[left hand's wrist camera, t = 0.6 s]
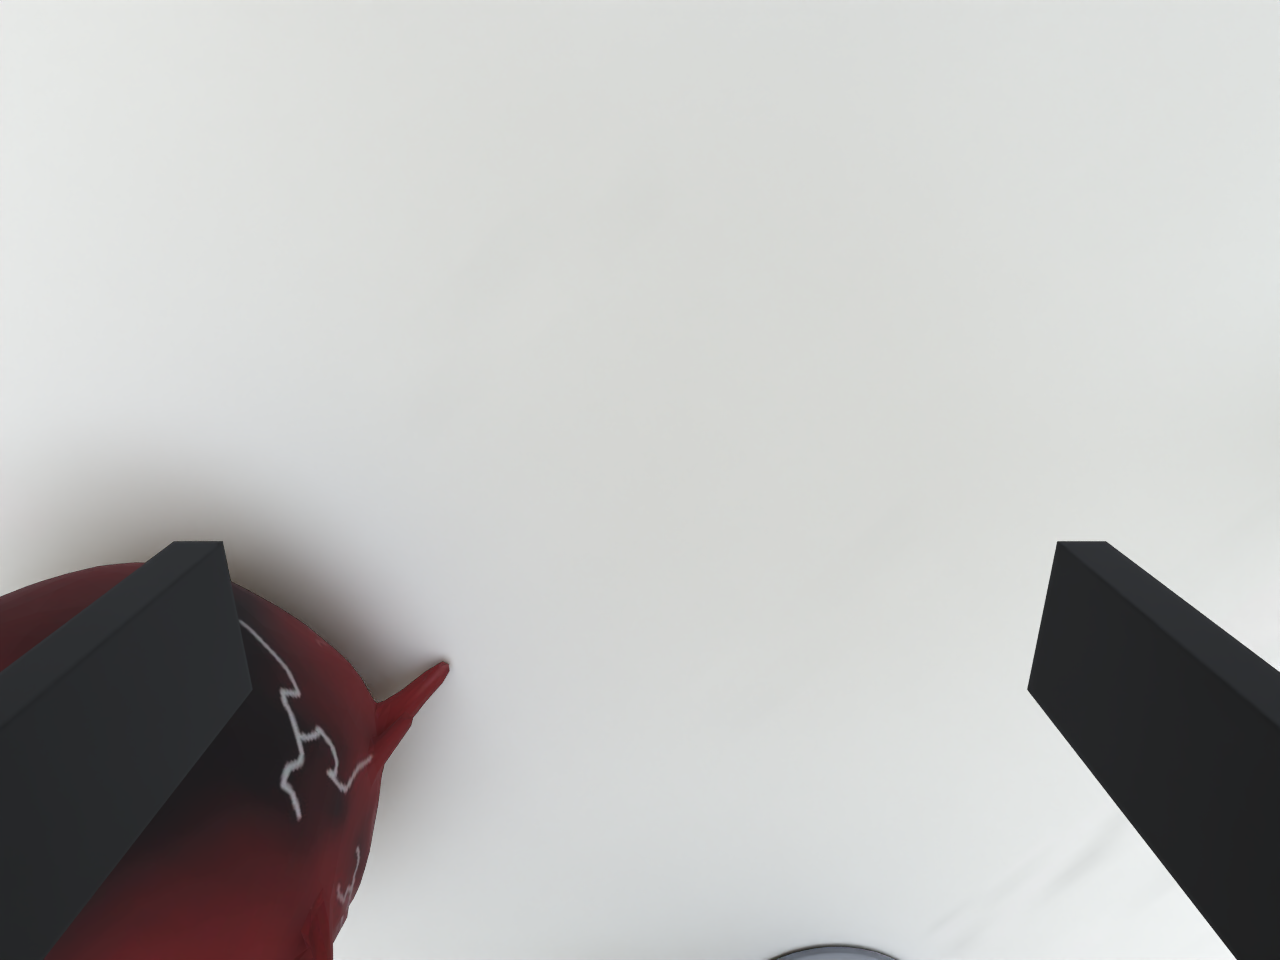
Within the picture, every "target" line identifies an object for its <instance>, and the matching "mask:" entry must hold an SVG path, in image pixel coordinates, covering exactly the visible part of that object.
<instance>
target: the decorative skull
mask: <svg viewBox="0 0 1280 960" xmlns="http://www.w3.org/2000/svg"><path fill="white" fill-rule="evenodd" d="M143 564H145V563H124V564H113V565H105V566H97V567H93V568H89V569H85V570H80V571H76V572H72V573H68V574H64V575H61V576H58V577H54V578H51V579H47V580H44V581H41V582H38V583H35V584H32V585H29V586H26V587H24V588H21V589H19V590H16V591H14V592H11V593H9V594H6V595H4V596H1V597H0V672H1V671H3V670H4V669H5V668H7V667H8V666H9V665H11V664H12V663H13V662H15V661H16V660H17V659H18V658H20V657H21V656H22V655H24V654H25V653H26V652H28V651H29V650H30V649H32V648H33V647H34V646H36V645H37V644H38V643H40V642H41V641H42V640H44V639H45V638H46V637H48V636H49V635H50V634H52V633H53V632H54V631H56V630H57V629H58V628H60V627H61V626H62V625H64V624H65V623H66V622H68V621H69V620H70V619H72V618H73V617H74V616H76V615H77V614H78V613H80V612H81V611H82V610H84V609H85V608H86V607H88V606H89V605H90V604H92V603H93V602H94V601H96V600H97V599H98V598H99V597H101V596H102V595H103V594H105V593H106V592H107V591H109V590H110V589H111V588H113V587H114V586H115V585H117V584H118V583H119V582H121V581H122V580H123V579H125V578H126V577H127V576H129V575H130V574H131V573H133V572H134V571H135V570H137V569H138V568H139V567H141V566H142V565H143ZM231 585H232V590H233V595H234V600H235V605H236V610H237V615H238V620H239V624H240V629H241V634H242V639H243V644H244V649H245V654H246V659H247V664H248V669H249V674H250V679H251V684H252V689H253V690H252V691H251V692H250V694H249V695H248V696H247V698H246V699H245V700H244V701H243V703H242V704H241V705H240V707H239V708H238V709H237V710H236V712H235V713H234V714H233V716H232V717H231V718H230V720H229V721H228V722H227V723H226V725H225V726H224V727H223V729H222V730H221V731H220V732H219V734H218V735H217V736H216V738H215V739H214V740H213V741H212V743H211V744H210V745H209V747H208V748H207V749H206V750H205V752H204V753H203V754H202V756H201V757H200V758H199V759H198V761H197V762H196V763H195V765H194V766H193V767H192V768H191V770H190V771H189V772H188V774H187V775H186V776H185V778H184V779H183V780H182V781H181V783H180V784H179V785H178V787H177V788H176V789H175V790H174V792H173V793H172V794H171V796H170V797H169V798H168V799H167V801H166V802H165V803H164V805H163V806H162V807H161V808H160V810H159V811H158V812H157V814H156V815H155V816H154V817H153V819H152V820H151V821H150V823H149V824H148V825H147V826H146V828H145V829H144V830H143V832H142V833H141V834H140V836H139V837H138V838H137V839H136V841H135V842H134V843H133V845H132V846H131V847H130V848H129V850H128V851H127V852H126V854H125V855H124V856H123V857H122V859H121V860H120V861H119V863H118V864H117V865H116V866H115V868H114V869H113V870H112V872H111V873H110V874H109V875H108V877H107V878H106V879H105V881H104V882H103V883H102V884H101V886H100V887H99V888H98V890H97V891H96V892H95V894H94V895H93V896H92V897H91V899H90V900H89V901H88V903H87V904H86V905H85V906H84V908H83V909H82V910H81V912H80V913H79V914H78V915H77V917H76V918H75V919H74V921H73V922H72V923H71V924H70V926H69V927H68V928H67V930H66V931H65V932H64V933H63V935H62V936H61V937H60V939H59V940H58V941H57V942H56V944H55V945H54V946H53V948H52V949H51V950H50V952H49V953H48V954H47V955H46V957H45V958H44V959H43V960H333V942H334V940H335V939H336V937H337V935H338V933H339V931H340V929H341V928H342V926H343V924H344V922H345V920H346V918H347V914H348V907H349V905H350V903H351V902H352V900H353V899H354V896H355V894H356V892H357V890H358V888H359V885H360V883H361V880H362V876H363V873H364V870H365V866H366V863H367V859H368V855H369V852H370V846H371V841H372V835H373V829H374V824H375V819H376V813H377V808H378V801H379V793H380V785H381V777H382V772H383V768H384V764H385V762H386V761H387V760H388V758H389V757H390V755H391V754H392V752H393V751H394V749H395V748H396V747H397V745H398V744H399V742H400V741H401V739H402V738H403V736H404V735H405V734H406V732H407V731H408V729H409V728H410V726H411V724H412V720H413V717H414V716H415V715H416V713H417V712H418V711H419V709H420V708H421V707H422V706H423V704H424V703H425V702H426V701H427V700H428V698H429V697H430V696H431V695H432V694H433V693H434V692H435V691H436V689H437V688H438V687H439V686H440V685H441V684H442V683H443V681H444V679H445V678H446V676H447V674H448V672H449V664H447V663H445V662H441V663H439V664H437V665H436V666H434V667H432V668H431V669H429V670H427V671H426V672H424V673H423V674H422V675H420V676H419V677H418V678H417V679H415V680H414V681H413V682H411V683H410V684H409V685H408V686H406V687H405V688H404V689H402V690H401V691H399V692H398V693H396V694H394V695H393V696H391V697H390V698H388V699H386V700H385V701H382V702H379V703H376V702H375V701H374V700H373V698H372V696H371V695H370V693H369V691H368V689H367V687H366V686H365V684H364V682H363V680H362V679H361V677H360V676H359V675H358V673H357V672H356V671H355V669H354V668H353V667H352V665H351V664H350V663H349V662H348V661H347V660H346V659H345V658H344V657H343V656H342V655H341V654H340V653H339V652H338V651H336V650H335V649H334V648H333V647H332V646H331V645H329V644H328V643H327V642H326V641H325V640H323V639H322V638H321V637H320V636H319V635H317V634H316V633H315V632H314V631H313V630H311V629H310V628H309V627H308V626H306V625H305V624H304V623H302V622H301V621H299V620H298V619H296V618H295V617H293V616H292V615H290V614H289V613H287V612H286V611H284V610H283V609H281V608H279V607H278V606H276V605H274V604H272V603H270V602H269V601H267V600H265V599H263V598H261V597H260V596H258V595H256V594H254V593H252V592H250V591H249V590H247V589H245V588H243V587H241V586H239V585H237V584H235V583H233V582H231Z"/></svg>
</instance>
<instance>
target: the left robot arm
mask: <svg viewBox="0 0 1280 960" xmlns="http://www.w3.org/2000/svg"><path fill="white" fill-rule="evenodd" d="M252 690H253V689H252V684H251V679H250V674H249V669H248V664H247V659H246V654H245V649H244V644H243V639H242V634H241V629H240V624H239V620H238V615H237V610H236V605H235V600H234V595H233V590H232V585H231V580H230V575H229V570H228V565H227V560H226V555H225V550H224V545H223V541H174V542H173V543H171V544H170V545H169V546H167V547H166V548H165V549H163V550H162V551H161V552H159V553H158V554H157V555H155V556H154V557H153V558H151V559H150V560H149V561H147V562H146V563H145V564H143V565H142V566H141V567H139V568H138V569H137V570H135V571H134V572H133V573H131V574H130V575H129V576H127V577H126V578H125V579H123V580H122V581H121V582H119V583H118V584H117V585H115V586H114V587H113V588H111V589H110V590H109V591H107V592H106V593H105V594H103V595H102V596H101V597H99V598H98V599H97V600H96V601H94V602H93V603H92V604H90V605H89V606H88V607H86V608H85V609H84V610H82V611H81V612H80V613H78V614H77V615H76V616H74V617H73V618H72V619H70V620H69V621H68V622H66V623H65V624H64V625H62V626H61V627H60V628H58V629H57V630H56V631H54V632H53V633H52V634H50V635H49V636H48V637H46V638H45V639H44V640H42V641H41V642H40V643H38V644H37V645H36V646H34V647H33V648H32V649H30V650H29V651H28V652H26V653H25V654H24V655H22V656H21V657H20V658H18V659H17V660H16V661H15V662H13V663H12V664H11V665H9V666H8V667H7V668H5V669H4V670H3V671H1V672H0V960H43V959H44V958H45V957H46V955H47V954H48V953H49V952H50V950H51V949H52V948H53V946H54V945H55V944H56V942H57V941H58V940H59V939H60V937H61V936H62V935H63V933H64V932H65V931H66V930H67V928H68V927H69V926H70V924H71V923H72V922H73V921H74V919H75V918H76V917H77V915H78V914H79V913H80V912H81V910H82V909H83V908H84V906H85V905H86V904H87V903H88V901H89V900H90V899H91V897H92V896H93V895H94V894H95V892H96V891H97V890H98V888H99V887H100V886H101V884H102V883H103V882H104V881H105V879H106V878H107V877H108V875H109V874H110V873H111V872H112V870H113V869H114V868H115V866H116V865H117V864H118V863H119V861H120V860H121V859H122V857H123V856H124V855H125V854H126V852H127V851H128V850H129V848H130V847H131V846H132V845H133V843H134V842H135V841H136V839H137V838H138V837H139V836H140V834H141V833H142V832H143V830H144V829H145V828H146V826H147V825H148V824H149V823H150V821H151V820H152V819H153V817H154V816H155V815H156V814H157V812H158V811H159V810H160V808H161V807H162V806H163V805H164V803H165V802H166V801H167V799H168V798H169V797H170V796H171V794H172V793H173V792H174V790H175V789H176V788H177V787H178V785H179V784H180V783H181V781H182V780H183V779H184V778H185V776H186V775H187V774H188V772H189V771H190V770H191V768H192V767H193V766H194V765H195V763H196V762H197V761H198V759H199V758H200V757H201V756H202V754H203V753H204V752H205V750H206V749H207V748H208V747H209V745H210V744H211V743H212V741H213V740H214V739H215V738H216V736H217V735H218V734H219V732H220V731H221V730H222V729H223V727H224V726H225V725H226V723H227V722H228V721H229V720H230V718H231V717H232V716H233V714H234V713H235V712H236V710H237V709H238V708H239V707H240V705H241V704H242V703H243V701H244V700H245V699H246V698H247V696H248V695H249V694H250V692H251V691H252ZM1027 690H1028V691H1029V692H1030V694H1031V695H1032V696H1033V698H1034V699H1035V700H1036V701H1037V703H1038V704H1039V705H1040V707H1041V708H1042V709H1043V710H1044V712H1045V713H1046V714H1047V716H1048V717H1049V718H1050V720H1051V721H1052V722H1053V723H1054V725H1055V726H1056V727H1057V729H1058V730H1059V731H1060V732H1061V734H1062V735H1063V736H1064V738H1065V739H1066V740H1067V741H1068V743H1069V744H1070V745H1071V747H1072V748H1073V749H1074V750H1075V752H1076V753H1077V754H1078V756H1079V757H1080V758H1081V759H1082V761H1083V762H1084V763H1085V765H1086V766H1087V767H1088V768H1089V770H1090V771H1091V772H1092V774H1093V775H1094V776H1095V778H1096V779H1097V780H1098V781H1099V783H1100V784H1101V785H1102V787H1103V788H1104V789H1105V790H1106V792H1107V793H1108V794H1109V796H1110V797H1111V798H1112V799H1113V801H1114V802H1115V803H1116V805H1117V806H1118V807H1119V808H1120V810H1121V811H1122V812H1123V814H1124V815H1125V816H1126V817H1127V819H1128V820H1129V821H1130V823H1131V824H1132V825H1133V826H1134V828H1135V829H1136V830H1137V832H1138V833H1139V834H1140V836H1141V837H1142V838H1143V839H1144V841H1145V842H1146V843H1147V845H1148V846H1149V847H1150V848H1151V850H1152V851H1153V852H1154V854H1155V855H1156V856H1157V857H1158V859H1159V860H1160V861H1161V863H1162V864H1163V865H1164V866H1165V868H1166V869H1167V870H1168V872H1169V873H1170V874H1171V875H1172V877H1173V878H1174V879H1175V881H1176V882H1177V883H1178V884H1179V886H1180V887H1181V888H1182V890H1183V891H1184V892H1185V894H1186V895H1187V896H1188V897H1189V899H1190V900H1191V901H1192V903H1193V904H1194V905H1195V906H1196V908H1197V909H1198V910H1199V912H1200V913H1201V914H1202V915H1203V917H1204V918H1205V919H1206V921H1207V922H1208V923H1209V924H1210V926H1211V927H1212V928H1213V930H1214V931H1215V932H1216V933H1217V935H1218V936H1219V937H1220V939H1221V940H1222V941H1223V942H1224V944H1225V945H1226V946H1227V948H1228V949H1229V950H1230V952H1231V953H1232V954H1233V955H1234V957H1235V958H1236V959H1237V960H1280V672H1279V671H1277V670H1276V669H1275V668H1273V667H1272V666H1271V665H1269V664H1268V663H1267V662H1265V661H1264V660H1263V659H1262V658H1260V657H1259V656H1258V655H1256V654H1255V653H1254V652H1252V651H1251V650H1250V649H1248V648H1247V647H1246V646H1244V645H1243V644H1242V643H1240V642H1239V641H1238V640H1236V639H1235V638H1234V637H1232V636H1231V635H1230V634H1228V633H1227V632H1226V631H1224V630H1223V629H1222V628H1220V627H1219V626H1218V625H1216V624H1215V623H1214V622H1212V621H1211V620H1210V619H1208V618H1207V617H1206V616H1204V615H1203V614H1202V613H1200V612H1199V611H1198V610H1196V609H1195V608H1194V607H1192V606H1191V605H1190V604H1188V603H1187V602H1186V601H1184V600H1183V599H1182V598H1181V597H1179V596H1178V595H1177V594H1175V593H1174V592H1173V591H1171V590H1170V589H1169V588H1167V587H1166V586H1165V585H1163V584H1162V583H1161V582H1159V581H1158V580H1157V579H1155V578H1154V577H1153V576H1151V575H1150V574H1149V573H1147V572H1146V571H1145V570H1143V569H1142V568H1141V567H1139V566H1138V565H1137V564H1135V563H1134V562H1133V561H1131V560H1130V559H1129V558H1127V557H1126V556H1125V555H1123V554H1122V553H1121V552H1119V551H1118V550H1117V549H1115V548H1114V547H1113V546H1111V545H1110V544H1109V543H1107V542H1106V541H1057V545H1056V550H1055V555H1054V560H1053V565H1052V570H1051V575H1050V580H1049V585H1048V590H1047V595H1046V600H1045V605H1044V610H1043V615H1042V620H1041V624H1040V629H1039V634H1038V639H1037V644H1036V649H1035V654H1034V659H1033V664H1032V669H1031V674H1030V679H1029V684H1028V689H1027ZM776 960H895V959H893V958H891V957H889V956H886V955H883V954H880V953H877V952H873V951H870V950H864V949H859V948H850V947H824V948H815V949H809V950H804V951H800V952H796V953H792V954H789V955H786V956H783V957H781V958H778V959H776Z"/></svg>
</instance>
